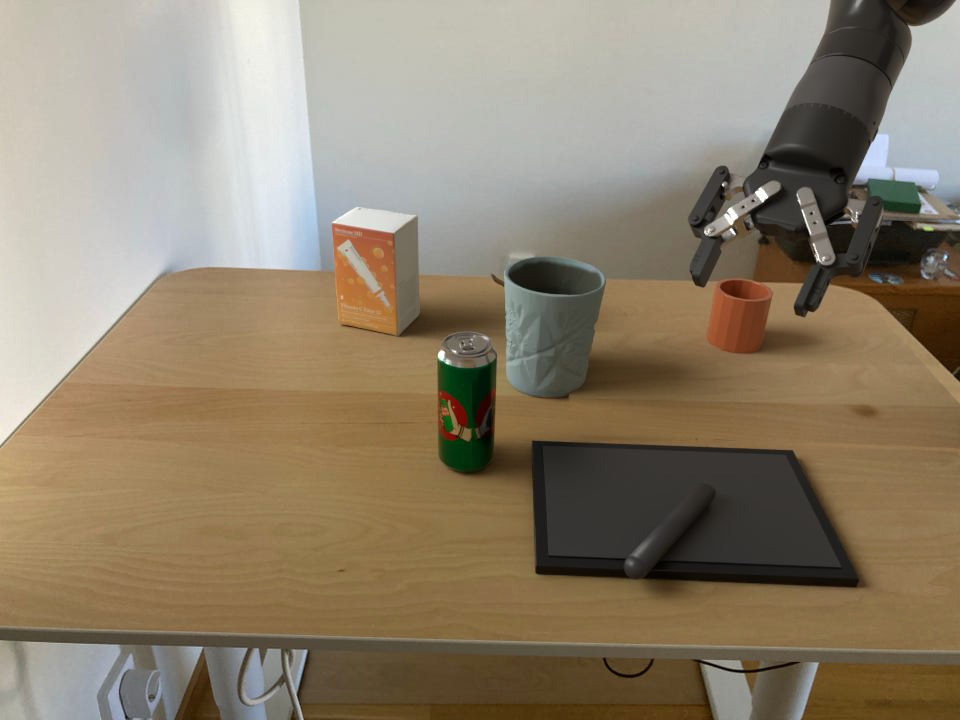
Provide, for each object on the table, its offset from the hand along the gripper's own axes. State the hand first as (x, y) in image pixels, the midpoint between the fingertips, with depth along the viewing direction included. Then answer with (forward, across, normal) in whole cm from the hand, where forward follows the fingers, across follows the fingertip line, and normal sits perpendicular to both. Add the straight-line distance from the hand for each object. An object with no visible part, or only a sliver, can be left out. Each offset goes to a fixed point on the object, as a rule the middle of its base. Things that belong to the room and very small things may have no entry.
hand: (746, 297), depth 63 cm
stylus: (+15, +2, +6) cm, 16 cm away
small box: (+12, -43, +12) cm, 46 cm away
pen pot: (-4, -8, +28) cm, 29 cm away
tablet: (+18, 0, +6) cm, 19 cm away
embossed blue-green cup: (+10, -20, +14) cm, 26 cm away
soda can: (+22, -18, +2) cm, 28 cm away
